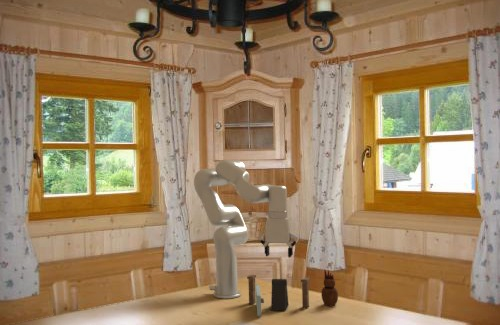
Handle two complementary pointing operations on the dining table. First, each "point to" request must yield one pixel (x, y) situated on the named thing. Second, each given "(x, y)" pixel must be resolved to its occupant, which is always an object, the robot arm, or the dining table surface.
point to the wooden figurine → (329, 290)
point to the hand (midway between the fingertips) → (278, 256)
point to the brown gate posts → (304, 291)
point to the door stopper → (279, 295)
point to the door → (258, 300)
